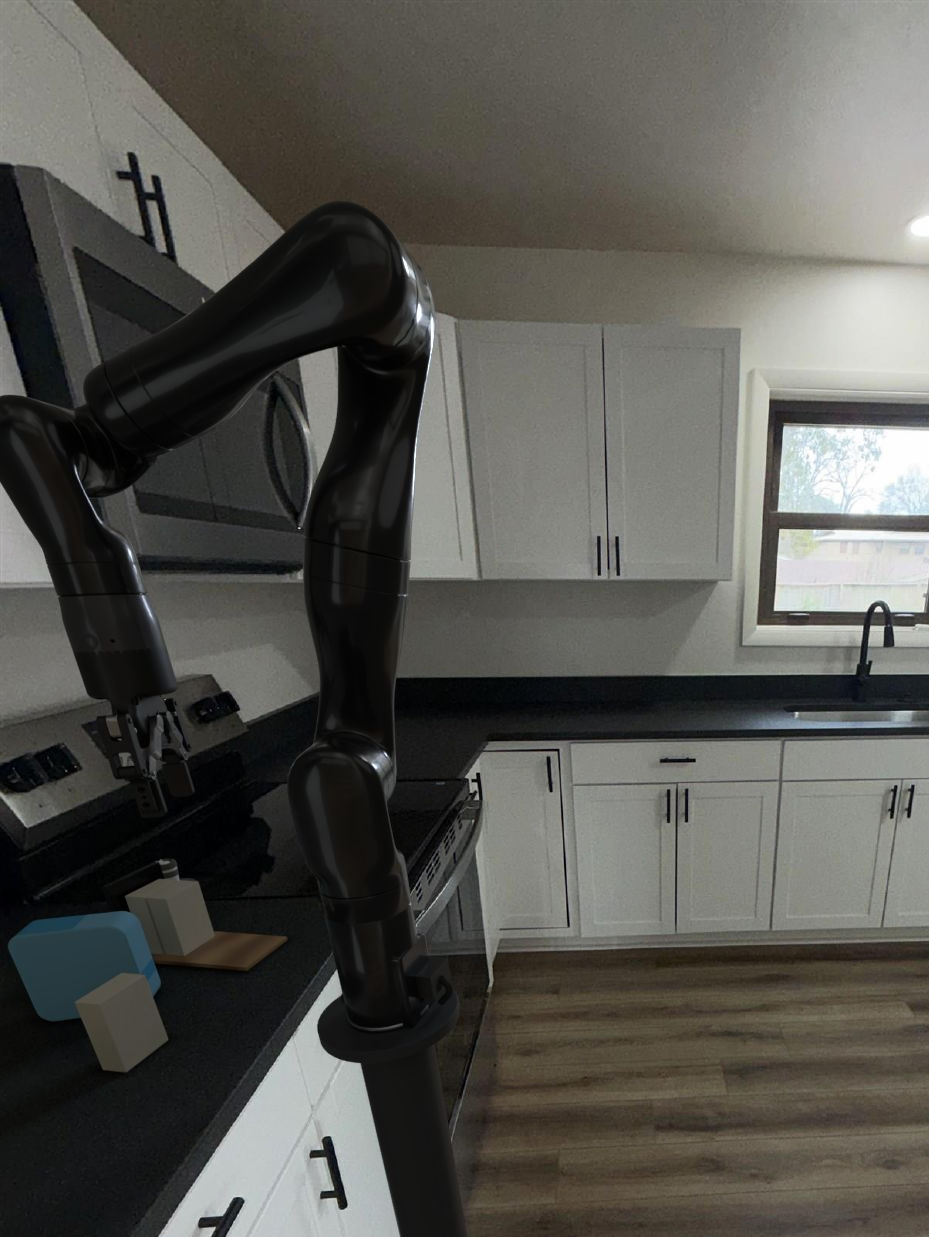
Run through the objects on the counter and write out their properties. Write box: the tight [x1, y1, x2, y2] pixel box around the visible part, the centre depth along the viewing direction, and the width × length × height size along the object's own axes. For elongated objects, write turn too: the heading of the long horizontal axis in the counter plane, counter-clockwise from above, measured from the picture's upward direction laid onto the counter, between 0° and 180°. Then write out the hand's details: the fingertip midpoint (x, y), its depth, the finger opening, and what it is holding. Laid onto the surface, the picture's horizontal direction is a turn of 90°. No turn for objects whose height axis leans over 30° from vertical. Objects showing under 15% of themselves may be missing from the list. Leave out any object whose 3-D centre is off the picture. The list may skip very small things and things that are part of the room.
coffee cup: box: [154, 858, 198, 881], centre depth 123 cm, size 12×12×5 cm
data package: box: [7, 911, 162, 1022], centre depth 88 cm, size 12×4×12 cm, turn 105°
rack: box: [101, 861, 289, 972], centre depth 101 cm, size 18×9×12 cm, turn 81°
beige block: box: [75, 973, 169, 1073], centre depth 80 cm, size 3×6×9 cm, turn 171°
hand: (170, 805), depth 76 cm, fingers open, 8 cm apart
